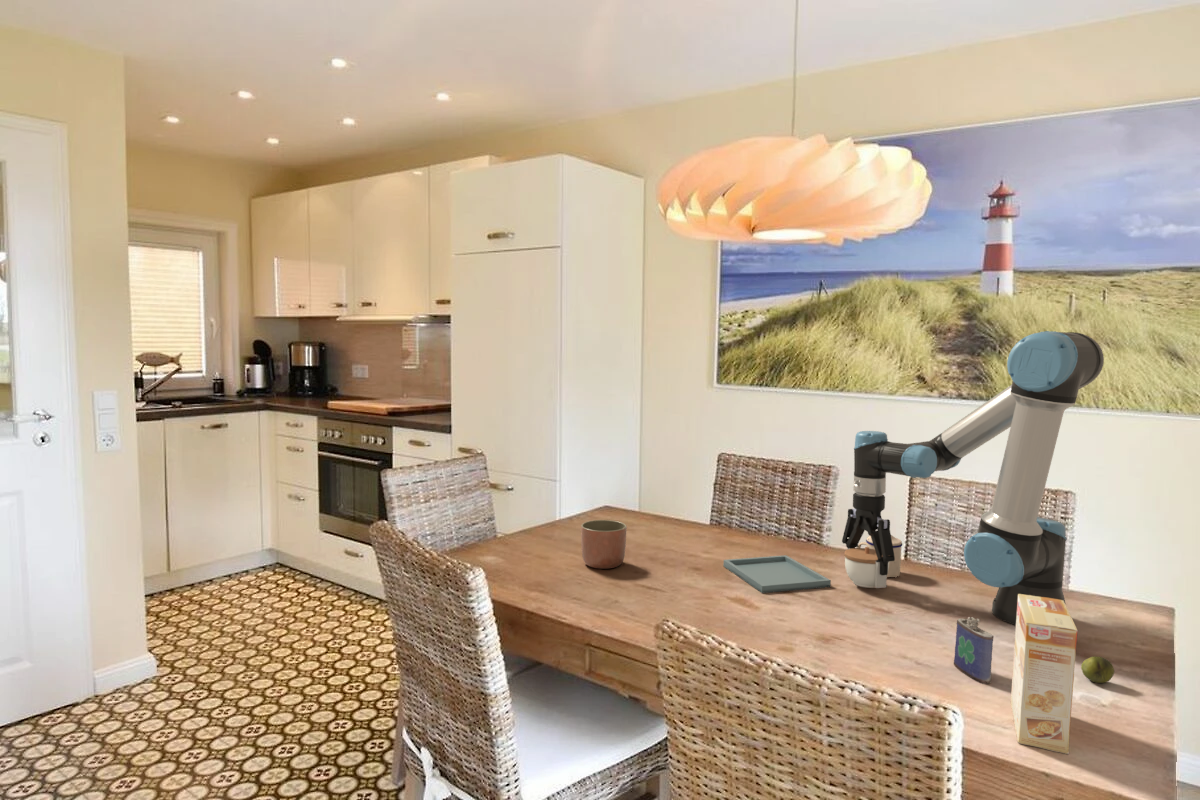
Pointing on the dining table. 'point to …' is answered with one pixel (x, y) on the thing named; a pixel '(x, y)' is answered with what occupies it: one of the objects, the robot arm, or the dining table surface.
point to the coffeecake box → (1043, 672)
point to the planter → (603, 543)
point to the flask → (973, 650)
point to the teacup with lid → (894, 565)
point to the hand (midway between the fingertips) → (866, 580)
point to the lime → (1097, 669)
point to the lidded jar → (861, 566)
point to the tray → (776, 574)
